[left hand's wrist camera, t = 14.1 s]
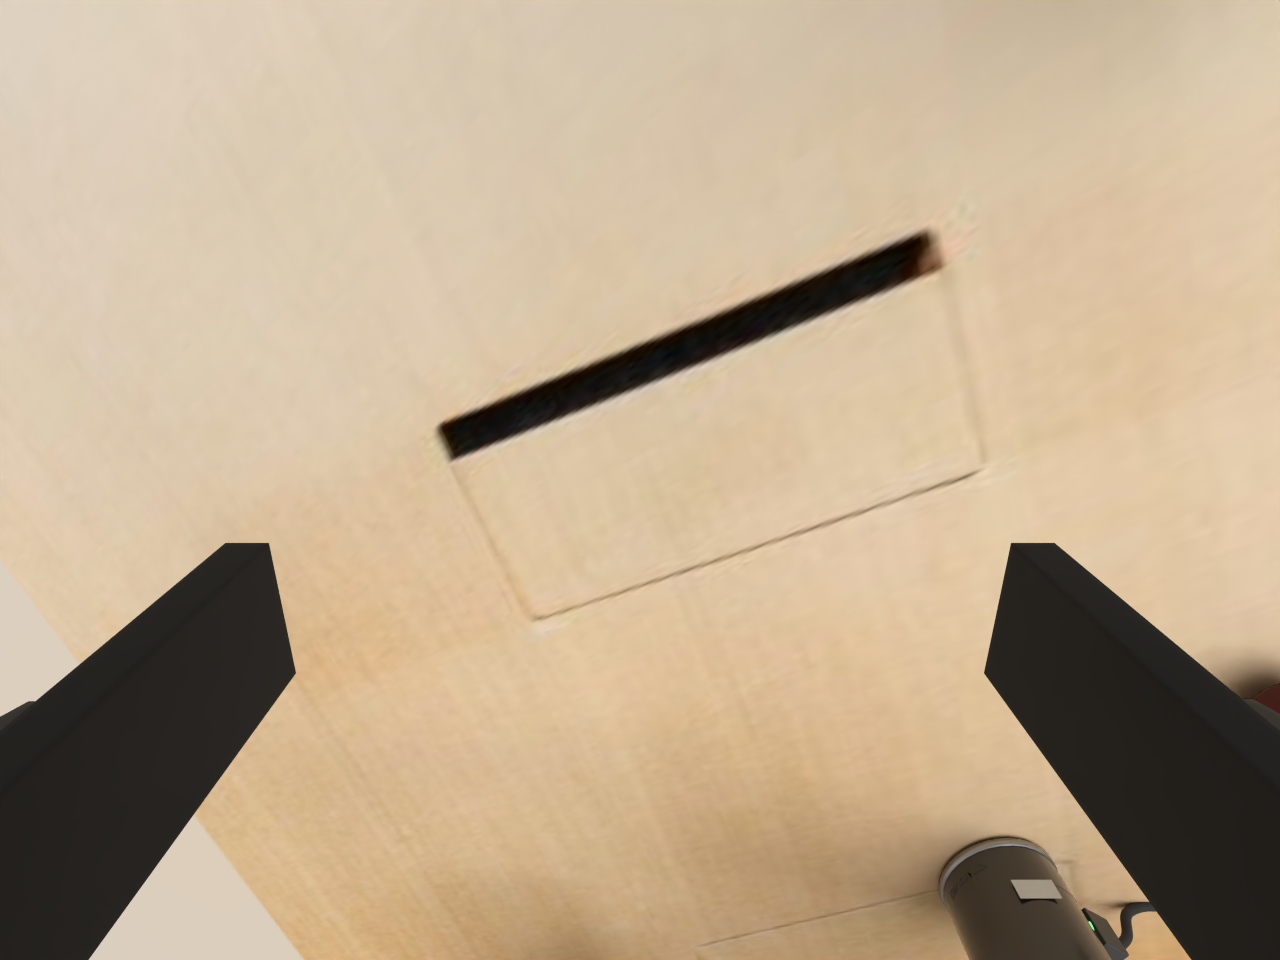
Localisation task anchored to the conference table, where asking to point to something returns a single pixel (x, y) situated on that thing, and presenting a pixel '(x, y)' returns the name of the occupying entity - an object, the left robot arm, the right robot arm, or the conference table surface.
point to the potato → (1270, 697)
